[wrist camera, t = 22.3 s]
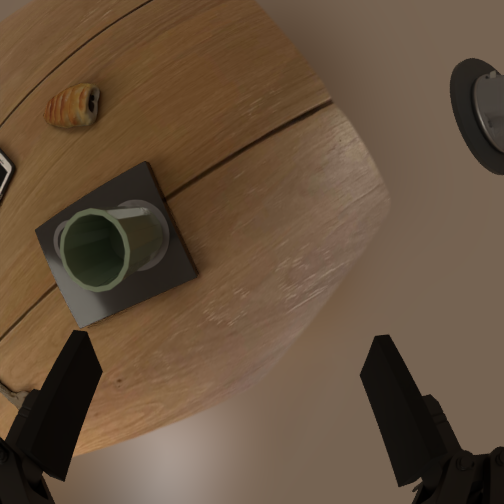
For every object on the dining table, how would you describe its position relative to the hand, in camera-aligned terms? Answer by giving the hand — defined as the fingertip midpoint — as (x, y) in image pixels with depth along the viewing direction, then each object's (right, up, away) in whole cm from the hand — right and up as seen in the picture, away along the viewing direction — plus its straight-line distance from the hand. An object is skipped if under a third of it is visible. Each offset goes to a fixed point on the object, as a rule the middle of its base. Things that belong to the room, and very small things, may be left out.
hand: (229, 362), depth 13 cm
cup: (-14, +7, +23) cm, 28 cm away
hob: (-18, +5, +25) cm, 32 cm away
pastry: (-24, +25, +22) cm, 41 cm away
